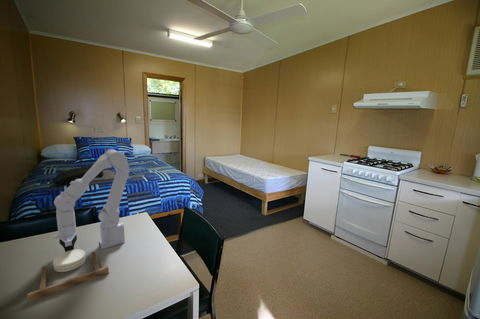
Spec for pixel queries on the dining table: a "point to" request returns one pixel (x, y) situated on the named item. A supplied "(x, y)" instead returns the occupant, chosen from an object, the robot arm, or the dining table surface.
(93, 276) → the walnut bay
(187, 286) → the dining table surface
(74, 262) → the white round dish
